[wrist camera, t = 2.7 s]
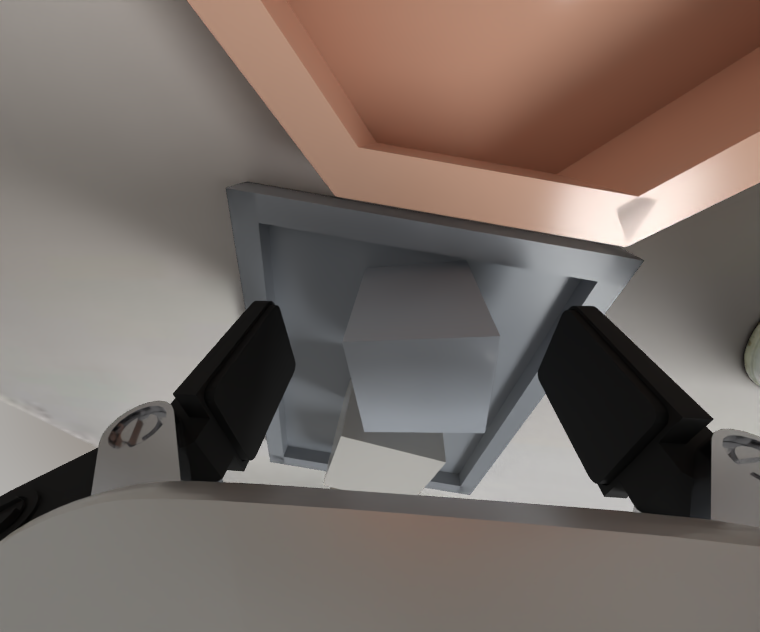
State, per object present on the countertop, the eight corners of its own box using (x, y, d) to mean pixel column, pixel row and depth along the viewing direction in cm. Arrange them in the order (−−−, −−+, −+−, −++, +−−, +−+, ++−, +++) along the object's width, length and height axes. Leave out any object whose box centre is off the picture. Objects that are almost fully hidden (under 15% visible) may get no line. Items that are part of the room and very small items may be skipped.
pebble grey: (409, 414, 16) (409, 505, 12) (344, 397, 16) (322, 485, 12) (435, 369, 14) (446, 462, 10) (360, 348, 14) (341, 436, 10)
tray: (466, 474, 21) (470, 495, 19) (278, 443, 20) (270, 461, 19) (618, 246, 10) (644, 260, 9) (246, 181, 10) (225, 187, 9)
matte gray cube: (461, 340, 13) (485, 433, 9) (377, 343, 13) (364, 431, 9) (466, 260, 11) (500, 335, 7) (365, 267, 11) (341, 341, 7)
